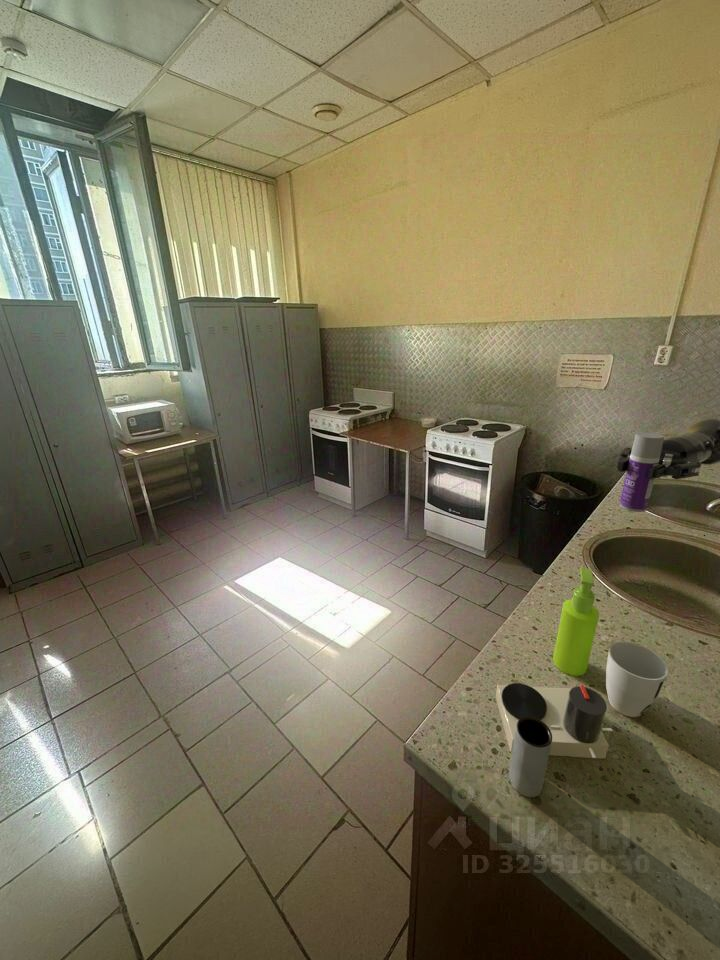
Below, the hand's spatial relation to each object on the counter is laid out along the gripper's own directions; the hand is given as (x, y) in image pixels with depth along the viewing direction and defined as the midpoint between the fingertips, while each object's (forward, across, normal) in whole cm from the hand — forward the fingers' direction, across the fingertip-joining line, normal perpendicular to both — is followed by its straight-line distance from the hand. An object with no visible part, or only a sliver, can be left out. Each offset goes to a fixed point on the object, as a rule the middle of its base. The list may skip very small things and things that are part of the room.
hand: (635, 470), depth 75 cm
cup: (+18, +14, +36) cm, 42 cm away
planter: (+43, +12, +36) cm, 57 cm away
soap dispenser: (+17, +3, +36) cm, 40 cm away
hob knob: (+31, +13, +33) cm, 47 cm away
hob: (+33, +10, +36) cm, 49 cm away
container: (-3, 0, +9) cm, 9 cm away
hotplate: (+35, +6, +32) cm, 48 cm away
